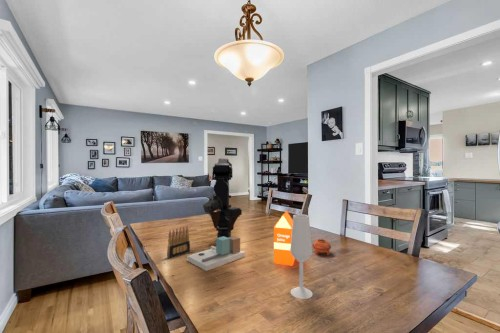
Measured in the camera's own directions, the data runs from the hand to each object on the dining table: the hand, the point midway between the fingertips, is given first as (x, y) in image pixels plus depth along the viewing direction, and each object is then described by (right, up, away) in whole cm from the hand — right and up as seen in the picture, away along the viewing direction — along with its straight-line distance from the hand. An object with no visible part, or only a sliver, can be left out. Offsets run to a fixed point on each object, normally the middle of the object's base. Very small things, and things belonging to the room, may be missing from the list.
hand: (222, 230), depth 100 cm
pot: (+44, -13, +7) cm, 46 cm away
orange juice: (+26, -13, -1) cm, 29 cm away
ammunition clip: (-20, -13, +6) cm, 25 cm away
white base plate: (-3, -13, +1) cm, 13 cm away
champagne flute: (+28, -13, -26) cm, 40 cm away
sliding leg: (-2, -10, +2) cm, 11 cm away
